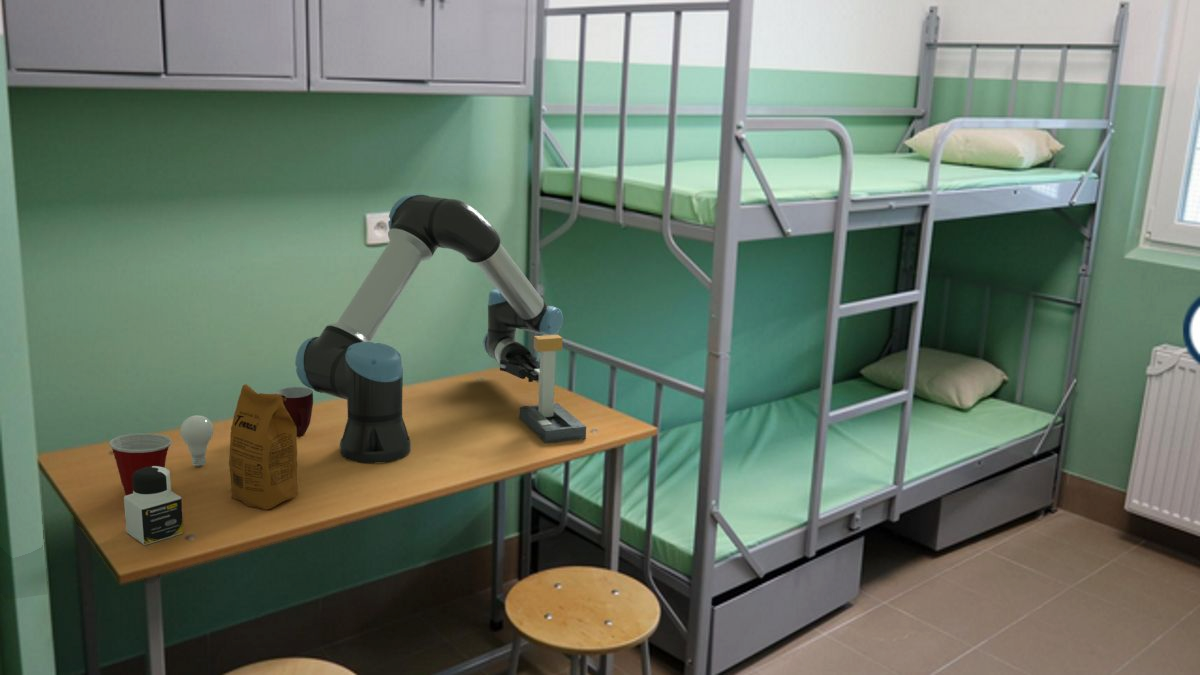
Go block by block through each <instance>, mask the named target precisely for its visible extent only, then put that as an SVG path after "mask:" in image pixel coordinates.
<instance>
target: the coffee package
mask: <svg viewBox="0 0 1200 675" xmlns="http://www.w3.org/2000/svg"><path fill="white" fill-rule="evenodd" d="M283 401H286V397H285V395H282V394H276V393H261V392H259V393H258V392H257V391H255V390H254V389H253V388H252V387H251V386H250V385H248V384H247V383H246V384H242V387H241V390H240V394H239V396H238V399H237V401H236V402H237V404H236V408H235V411H234V414H233V419H232V424H231V427H230V440H229V442H230V443H229V452H228V453H229V455H228V467H229V472H230V474H229V476H230V493H231V496H230V497H231V499H234V500H241V501H242V502H243V503H244V504H245V505H246V506H248V507H250V508H257V509H264V510H271V509H273V508H274V507H277V506H278V505H280V504H281V503H283V502H284V501H288V500H291V499H293V498H295V497H296V496H297V495H299V485H298V484H299V483H298V480H299V478H298V466H299V465H298V443H297V439H298V437H297V428H296V426H295V424H294V422H293V420H292V418H291V417H290V415H289V413H288V412H287V410H286V408H285V406H284V404H283Z"/></svg>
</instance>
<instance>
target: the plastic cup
mask: <svg viewBox="0 0 1200 675" xmlns="http://www.w3.org/2000/svg"><path fill="white" fill-rule="evenodd" d="M172 442H173V439H172V438H171V437H170V436H166V435H164V434H160V433H159V434H158V433H151V432H150V433H148V432H147V433H145V432H141V433H140V432H138V433H128V434H123V435H119V436H116V437H114V438H112V439H110V441H109V442H108V445H109V446H110V448H111V450H112V454H113V456H114V459H115V463H116V466H117V469H118V470H117V471H118V474H119V477H120V482H121V485H122V487H123V490H124V491H123V492H124V494H125V495H124V496H126V495H130V494H133V483H132V475H133V473H134V472H135V471H137V470H139V469H142V468H145V467H150V466H159V467H164V468H166V462H167V460H166V459H167V455H168V451H169V448H170V447H171V445H172Z"/></svg>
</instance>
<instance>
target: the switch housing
mask: <svg viewBox="0 0 1200 675" xmlns="http://www.w3.org/2000/svg"><path fill="white" fill-rule="evenodd" d="M538 407H539V404H536V405H527V406H519V407H518V408H519V410H518V412H519V413H518V419H519V420H520V421H521V422H522V423H523V424H524V425H526V427H527V428H528V429H529V430H531V432H533V433H534V434H535V435H536V436H537V437H538V438H539V439H540V440H542V442H543V443H545V444H552V443H560V442H569V441H577V440H578V441H579V440H586V439H587V425H585V424H584V423H582V422H581V421H580V420H579V419H578V418H576V417H575V416H574V415H573V414H572V413H571V412H569V411H568V410H567V409H565V408H564V407H563V406H562V405H560V404H559V403H558V402H557V403H556V402H554V416H551V417H544V416H543V415H542V414H541V413H540V412H538Z"/></svg>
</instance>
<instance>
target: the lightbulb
mask: <svg viewBox="0 0 1200 675" xmlns="http://www.w3.org/2000/svg"><path fill="white" fill-rule="evenodd" d="M179 431H180V432H179V435H180V437H181V438H182V441H183V442H184V444H186V446H187V447H188V450H189V452H190V456H191V465H192V466H194V467H196V468H201V467H203V466H204V465H206V460H207V459H206V452H207V448H208V445H209V442H210V441H211V439H212V438H213V436H214V425H213V423H212V421H211V420H210V419H209V418H208V417H206V416H204V415H200V414H197V415H191V416H189V417H187V418H186V419H184V420H183V422H182V423H181V425H180V429H179Z"/></svg>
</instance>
